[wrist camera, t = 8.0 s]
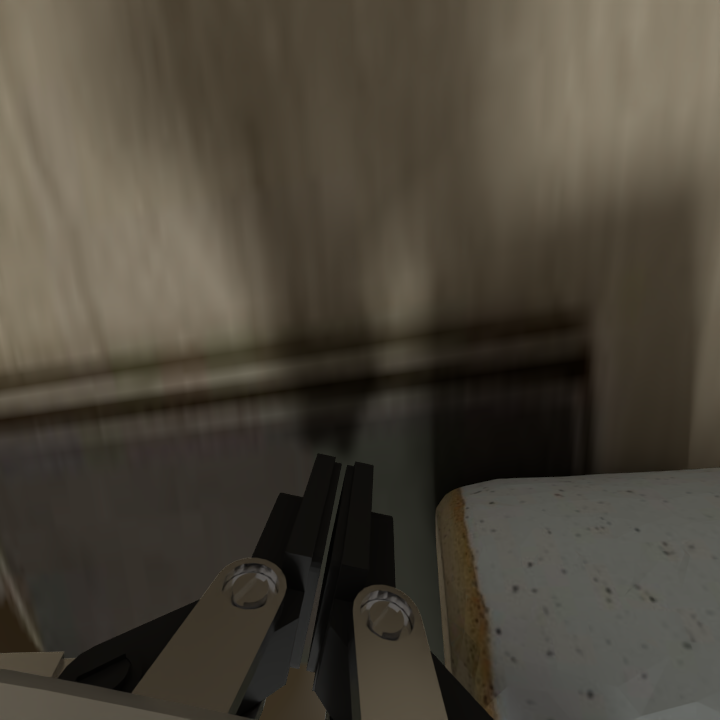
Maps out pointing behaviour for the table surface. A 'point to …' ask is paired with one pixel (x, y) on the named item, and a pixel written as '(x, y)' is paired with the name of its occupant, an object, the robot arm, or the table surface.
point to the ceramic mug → (584, 595)
